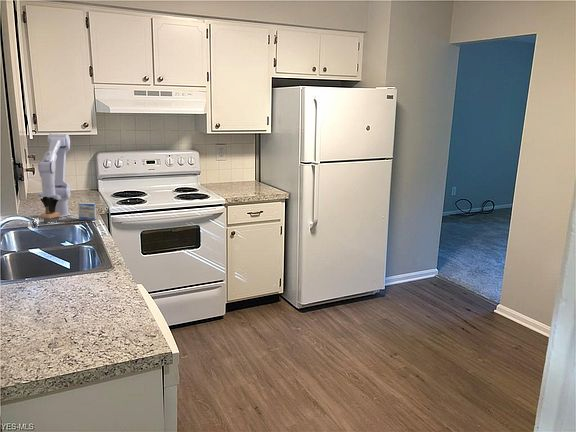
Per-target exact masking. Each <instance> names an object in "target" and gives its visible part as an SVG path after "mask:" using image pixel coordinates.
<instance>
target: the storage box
mask: <svg viewBox="0 0 576 432" xmlns="http://www.w3.org/2000/svg"><path fill="white" fill-rule="evenodd" d="M42 218H43V223H44V222H50V223H51V222H55V223H57V222H56V221H59V220H60V217H54V218H45V217H42ZM59 222H60V221H59ZM50 223H49V224H50ZM51 224H52V223H51Z"/></svg>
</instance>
